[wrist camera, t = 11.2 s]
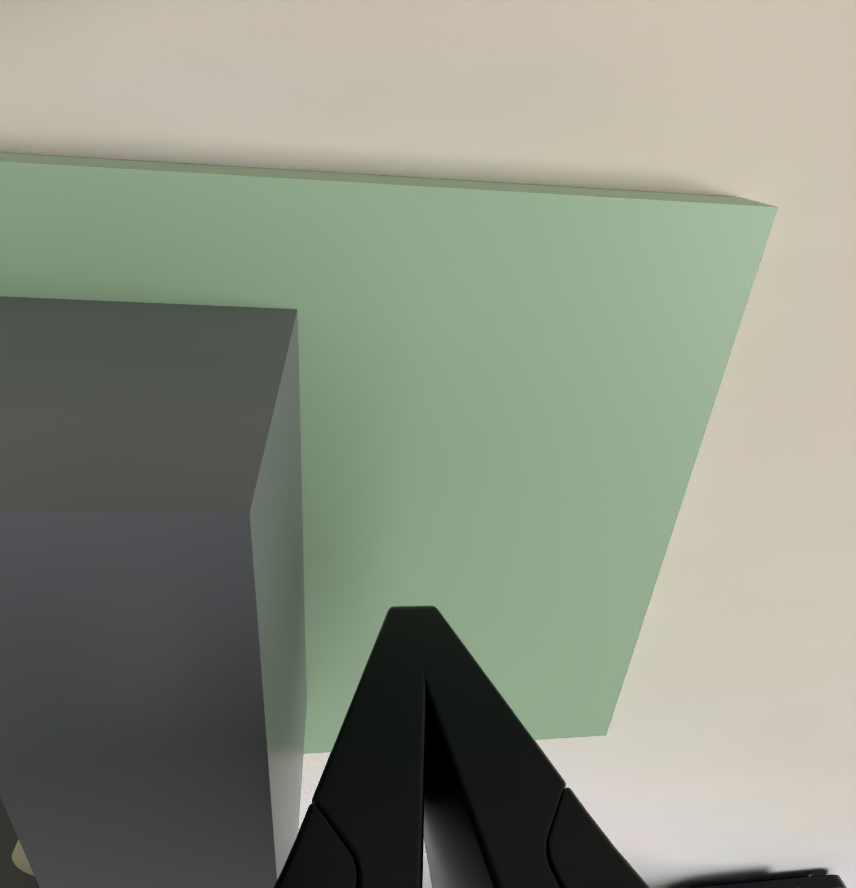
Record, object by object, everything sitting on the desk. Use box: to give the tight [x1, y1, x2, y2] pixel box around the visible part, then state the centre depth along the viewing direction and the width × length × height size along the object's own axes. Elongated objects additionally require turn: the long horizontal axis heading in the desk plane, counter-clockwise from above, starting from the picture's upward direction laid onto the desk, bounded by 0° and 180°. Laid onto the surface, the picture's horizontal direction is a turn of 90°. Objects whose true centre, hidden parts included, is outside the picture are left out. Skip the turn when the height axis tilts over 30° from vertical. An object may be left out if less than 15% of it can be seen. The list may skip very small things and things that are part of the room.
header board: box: [0, 152, 778, 876], centre depth 10 cm, size 12×12×5 cm
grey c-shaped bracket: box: [0, 296, 307, 888], centre depth 8 cm, size 6×8×5 cm
